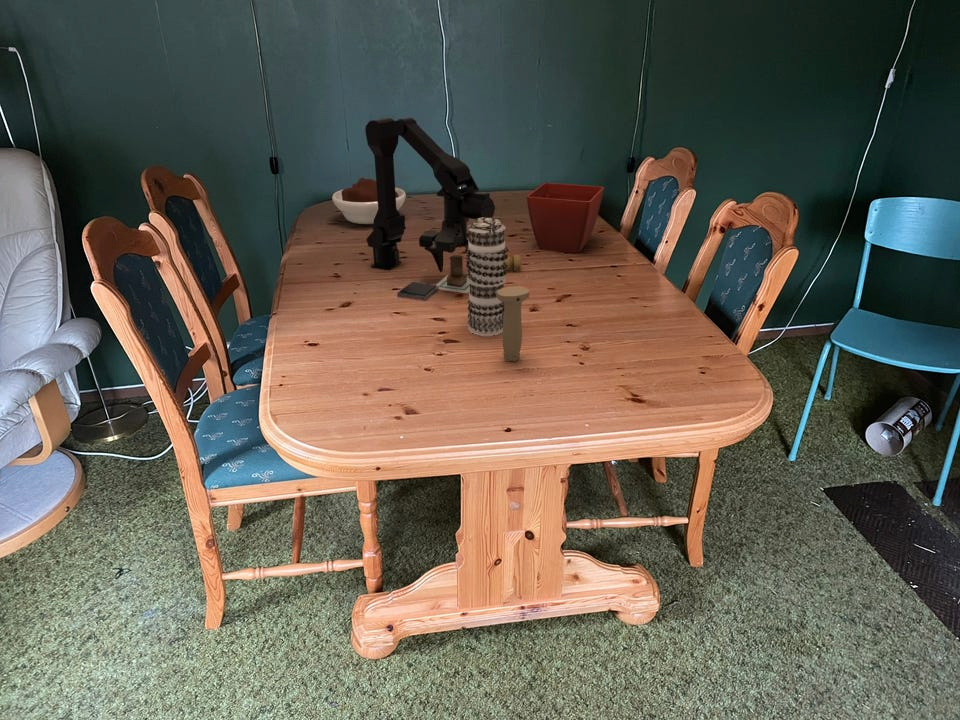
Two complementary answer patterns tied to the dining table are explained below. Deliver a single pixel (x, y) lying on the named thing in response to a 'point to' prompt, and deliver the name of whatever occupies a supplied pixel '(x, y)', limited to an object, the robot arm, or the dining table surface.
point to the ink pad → (418, 291)
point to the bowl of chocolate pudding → (362, 201)
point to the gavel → (513, 263)
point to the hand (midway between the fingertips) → (456, 273)
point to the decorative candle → (486, 275)
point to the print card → (443, 286)
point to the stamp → (456, 272)
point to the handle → (512, 320)
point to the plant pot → (563, 215)
